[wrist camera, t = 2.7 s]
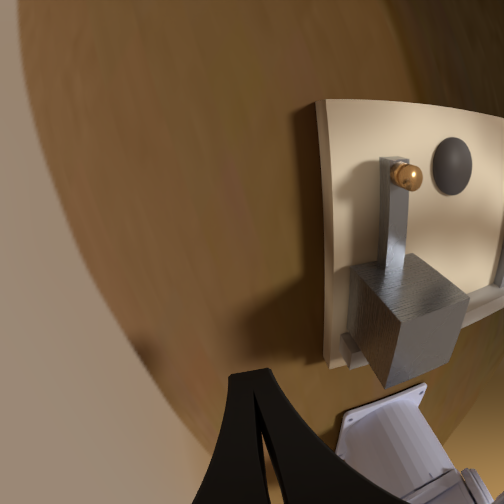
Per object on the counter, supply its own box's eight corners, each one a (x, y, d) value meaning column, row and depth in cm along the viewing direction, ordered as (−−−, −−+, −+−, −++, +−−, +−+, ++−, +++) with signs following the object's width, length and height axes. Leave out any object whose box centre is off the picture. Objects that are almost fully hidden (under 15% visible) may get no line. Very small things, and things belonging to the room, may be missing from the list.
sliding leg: (403, 311, 15) (448, 362, 11) (346, 328, 14) (384, 389, 10) (418, 155, 11) (490, 175, 7) (349, 157, 11) (417, 179, 7)
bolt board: (493, 296, 18) (514, 313, 16) (322, 355, 17) (338, 388, 15) (516, 122, 13) (546, 128, 10) (315, 101, 11) (342, 96, 9)
